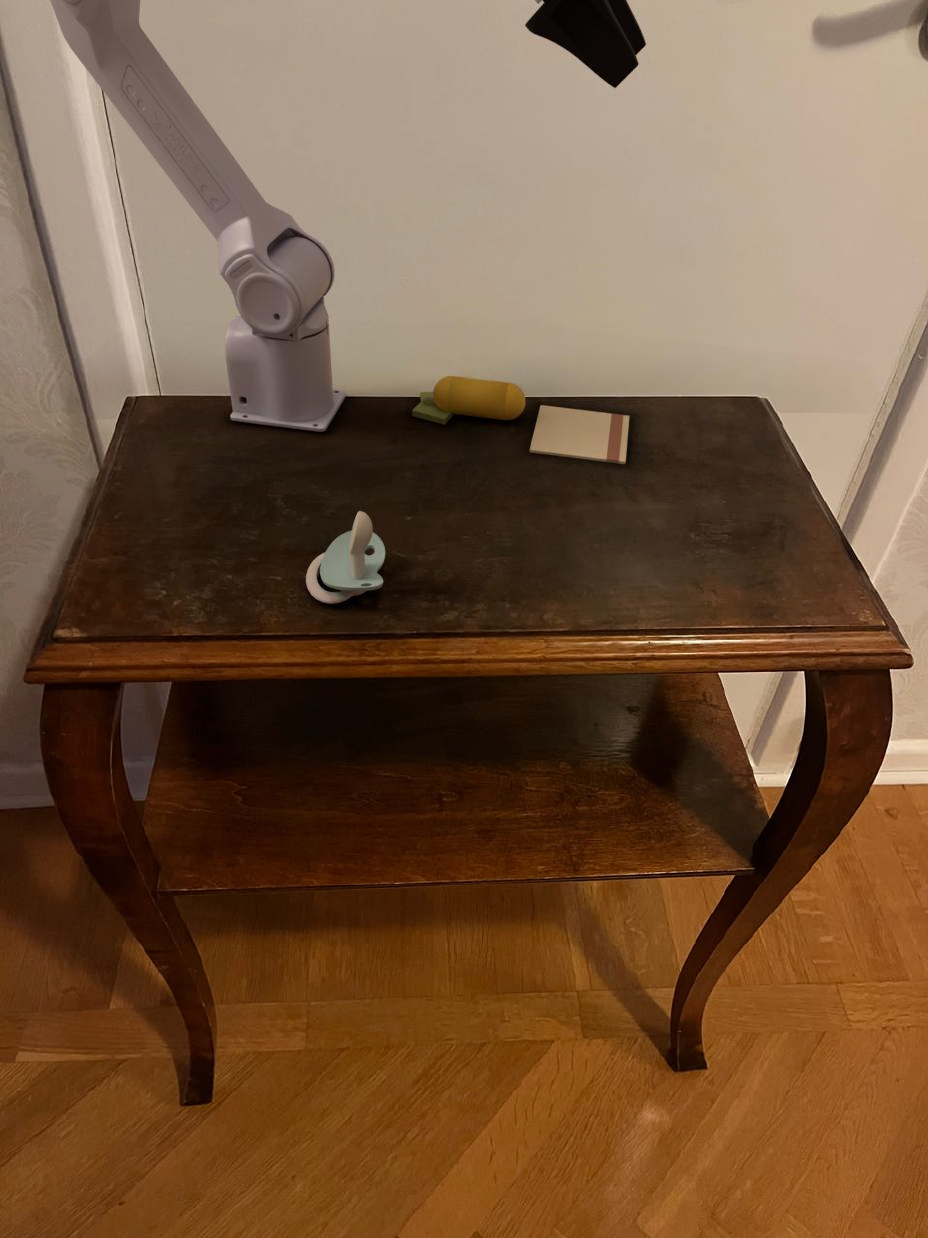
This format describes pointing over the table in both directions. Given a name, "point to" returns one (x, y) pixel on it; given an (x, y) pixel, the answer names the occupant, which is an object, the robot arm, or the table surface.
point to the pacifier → (348, 564)
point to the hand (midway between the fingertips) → (631, 65)
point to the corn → (470, 400)
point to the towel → (581, 434)
